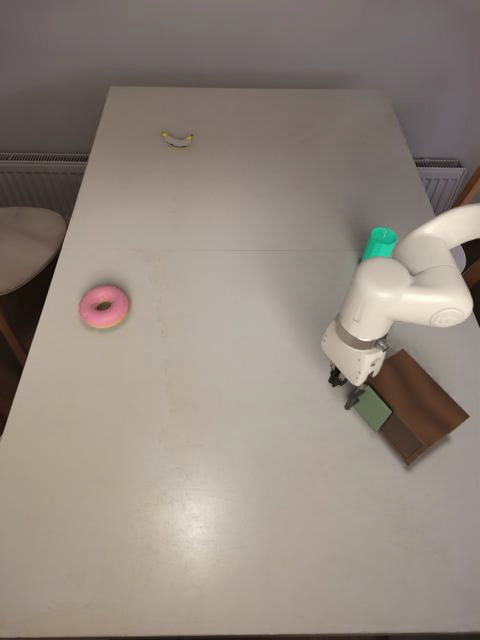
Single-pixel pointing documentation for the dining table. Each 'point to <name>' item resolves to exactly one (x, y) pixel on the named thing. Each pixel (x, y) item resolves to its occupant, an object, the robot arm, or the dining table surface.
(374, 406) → the sliding door
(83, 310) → the doughnut
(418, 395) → the cupboard
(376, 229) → the candle
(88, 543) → the dining table surface
